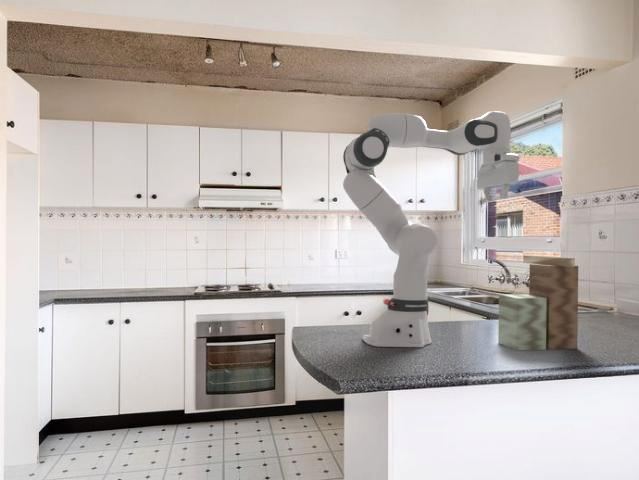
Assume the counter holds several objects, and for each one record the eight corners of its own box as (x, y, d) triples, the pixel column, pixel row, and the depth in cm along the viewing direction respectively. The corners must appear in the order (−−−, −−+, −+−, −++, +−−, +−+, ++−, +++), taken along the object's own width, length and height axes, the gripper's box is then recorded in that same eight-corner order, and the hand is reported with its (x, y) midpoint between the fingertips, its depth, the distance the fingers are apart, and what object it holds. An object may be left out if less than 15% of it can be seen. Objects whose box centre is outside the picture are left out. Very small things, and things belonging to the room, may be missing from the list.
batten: (567, 266, 139) (567, 258, 139) (523, 262, 161) (523, 255, 161) (574, 266, 139) (574, 258, 139) (529, 262, 161) (529, 255, 161)
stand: (516, 350, 139) (517, 265, 139) (498, 343, 149) (499, 264, 149) (577, 348, 143) (578, 266, 143) (555, 341, 153) (556, 264, 153)
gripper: (472, 164, 166) (472, 202, 166) (505, 153, 146) (504, 196, 146) (488, 165, 167) (488, 202, 167) (522, 154, 147) (522, 197, 147)
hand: (495, 199), depth 157 cm, fingers open, 8 cm apart
